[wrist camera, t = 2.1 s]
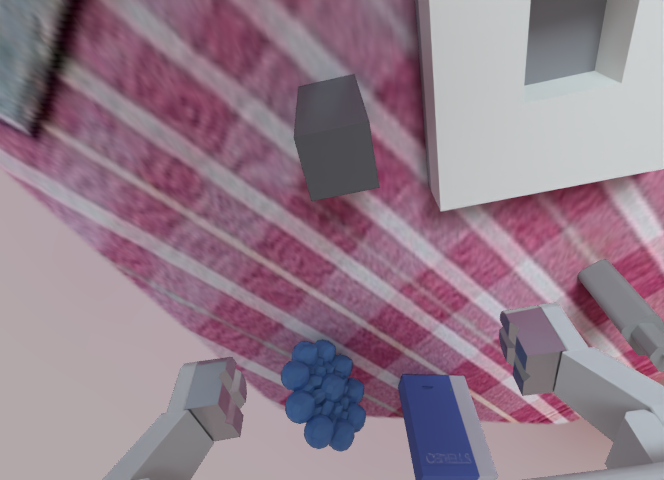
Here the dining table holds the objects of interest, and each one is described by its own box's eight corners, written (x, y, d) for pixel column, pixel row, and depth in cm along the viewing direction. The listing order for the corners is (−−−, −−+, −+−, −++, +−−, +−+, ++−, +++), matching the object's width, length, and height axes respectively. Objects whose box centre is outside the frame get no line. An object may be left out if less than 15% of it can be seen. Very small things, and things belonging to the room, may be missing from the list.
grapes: (259, 335, 44) (244, 446, 34) (304, 305, 41) (302, 416, 32) (329, 381, 49) (333, 487, 40) (373, 356, 47) (389, 464, 37)
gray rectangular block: (298, 86, 28) (293, 137, 21) (354, 74, 28) (369, 121, 21) (311, 139, 31) (311, 201, 24) (363, 128, 30) (379, 187, 23)
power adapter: (595, 301, 43) (677, 406, 33) (575, 274, 40) (657, 379, 31) (625, 286, 42) (719, 390, 32) (606, 257, 39) (701, 361, 29)
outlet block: (405, -136, 22) (421, -148, 18) (745, -229, 20) (827, -260, 17) (428, 185, 34) (440, 211, 30) (643, 142, 32) (680, 165, 29)
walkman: (397, 387, 51) (417, 492, 41) (402, 373, 49) (424, 479, 40) (458, 388, 52) (491, 492, 42) (464, 375, 50) (501, 480, 40)
